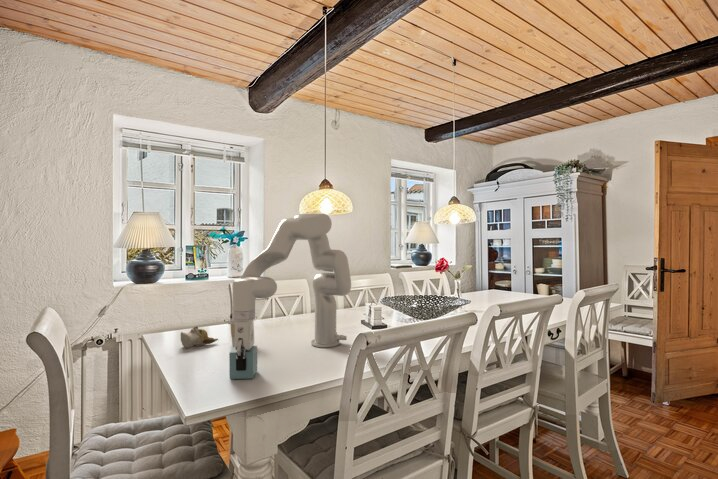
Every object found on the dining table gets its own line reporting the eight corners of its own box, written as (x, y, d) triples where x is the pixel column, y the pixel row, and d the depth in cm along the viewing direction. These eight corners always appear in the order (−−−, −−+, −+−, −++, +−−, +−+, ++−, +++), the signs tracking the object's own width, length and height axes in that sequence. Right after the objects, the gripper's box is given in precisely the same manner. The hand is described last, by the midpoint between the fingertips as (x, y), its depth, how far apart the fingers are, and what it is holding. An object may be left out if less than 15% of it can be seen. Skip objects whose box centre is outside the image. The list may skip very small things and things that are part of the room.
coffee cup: (245, 348, 168) (245, 313, 168) (225, 347, 170) (225, 312, 170) (254, 342, 177) (254, 309, 177) (236, 341, 179) (236, 308, 179)
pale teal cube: (257, 370, 141) (257, 345, 141) (253, 378, 133) (252, 352, 133) (235, 370, 140) (234, 346, 140) (229, 378, 132) (229, 352, 132)
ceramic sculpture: (174, 326, 170) (206, 322, 182) (173, 347, 170) (205, 341, 182) (188, 330, 164) (220, 326, 176) (186, 351, 164) (218, 345, 176)
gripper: (249, 320, 128) (249, 375, 128) (259, 310, 145) (259, 358, 145) (226, 320, 127) (226, 375, 128) (238, 310, 145) (238, 358, 145)
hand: (243, 365), depth 137 cm, fingers closed on pale teal cube, 7 cm apart
